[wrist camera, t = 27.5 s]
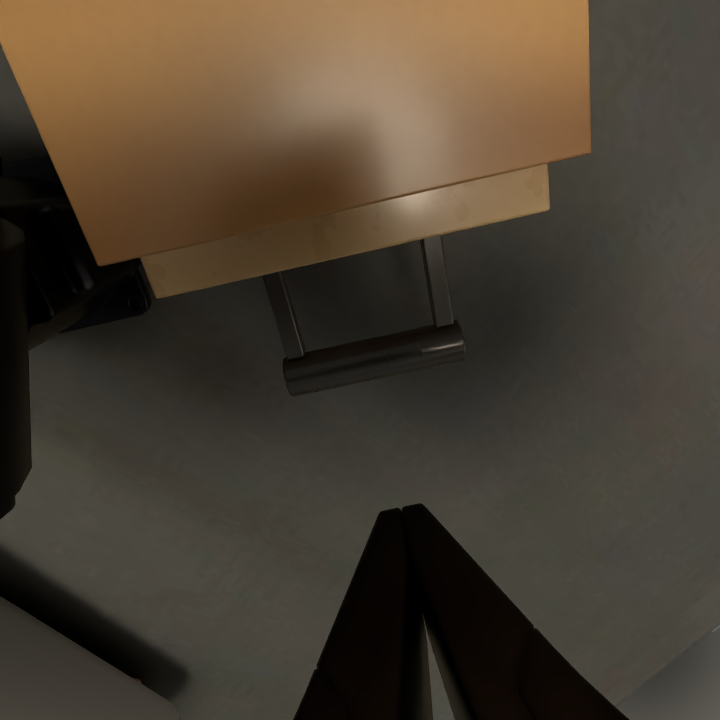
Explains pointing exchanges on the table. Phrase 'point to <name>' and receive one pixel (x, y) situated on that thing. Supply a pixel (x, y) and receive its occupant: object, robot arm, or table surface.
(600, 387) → the table surface
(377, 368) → the drawer
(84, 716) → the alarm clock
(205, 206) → the cabinet
